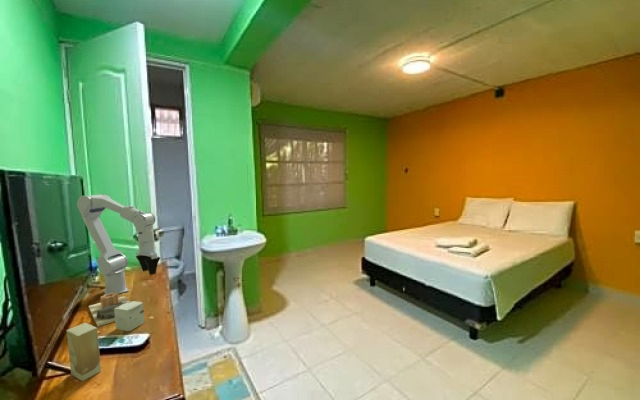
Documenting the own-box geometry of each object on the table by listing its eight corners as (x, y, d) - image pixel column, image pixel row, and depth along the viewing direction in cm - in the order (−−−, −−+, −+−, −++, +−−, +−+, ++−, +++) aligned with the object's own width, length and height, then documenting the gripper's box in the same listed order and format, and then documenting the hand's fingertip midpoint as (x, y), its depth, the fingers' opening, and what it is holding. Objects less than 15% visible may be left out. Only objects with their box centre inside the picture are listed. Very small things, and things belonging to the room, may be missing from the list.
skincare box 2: (129, 331, 95) (127, 310, 94) (115, 329, 97) (113, 308, 96) (145, 322, 101) (143, 302, 100) (132, 320, 102) (130, 300, 102)
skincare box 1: (70, 374, 75) (64, 329, 74) (89, 364, 79) (85, 321, 78) (82, 382, 72) (77, 335, 71) (102, 371, 76) (97, 327, 75)
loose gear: (100, 305, 113) (99, 295, 112) (117, 300, 116) (116, 291, 116) (103, 309, 109) (101, 299, 108) (120, 304, 113) (119, 295, 112)
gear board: (88, 308, 113) (87, 297, 112) (125, 298, 121) (124, 287, 121) (97, 326, 99) (96, 314, 98) (137, 313, 107) (136, 302, 107)
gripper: (129, 241, 124) (132, 271, 126) (142, 245, 115) (145, 278, 117) (147, 237, 130) (150, 267, 131) (161, 242, 121) (163, 273, 122)
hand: (149, 272), depth 124 cm, fingers open, 7 cm apart
